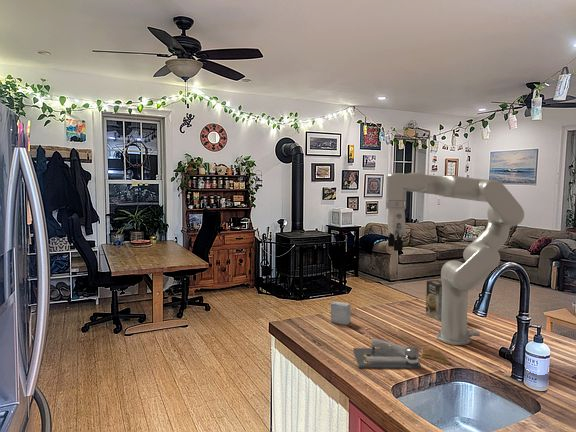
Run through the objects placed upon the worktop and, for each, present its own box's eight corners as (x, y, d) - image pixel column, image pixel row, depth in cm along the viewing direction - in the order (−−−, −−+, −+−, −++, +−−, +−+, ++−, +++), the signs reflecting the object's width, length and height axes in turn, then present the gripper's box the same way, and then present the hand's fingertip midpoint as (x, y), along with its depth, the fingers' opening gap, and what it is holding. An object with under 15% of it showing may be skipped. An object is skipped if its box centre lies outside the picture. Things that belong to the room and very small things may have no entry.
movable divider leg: (420, 360, 139) (420, 349, 139) (415, 365, 136) (415, 353, 136) (374, 347, 151) (374, 336, 151) (368, 350, 148) (368, 339, 148)
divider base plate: (409, 351, 151) (409, 344, 151) (421, 368, 137) (421, 360, 137) (353, 350, 151) (353, 343, 151) (358, 368, 137) (358, 360, 137)
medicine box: (350, 322, 182) (350, 303, 181) (346, 325, 178) (346, 306, 177) (334, 319, 186) (334, 300, 185) (330, 322, 182) (330, 303, 181)
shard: (450, 366, 139) (450, 361, 139) (428, 366, 139) (428, 361, 139) (438, 352, 150) (438, 348, 150) (417, 353, 150) (417, 348, 150)
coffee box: (425, 313, 193) (426, 280, 192) (436, 312, 195) (437, 279, 193) (437, 319, 184) (438, 285, 183) (449, 318, 186) (450, 284, 185)
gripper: (411, 206, 149) (410, 252, 150) (400, 203, 166) (399, 244, 168) (391, 206, 149) (390, 252, 151) (381, 203, 166) (381, 244, 168)
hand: (395, 248), depth 159 cm, fingers open, 9 cm apart
